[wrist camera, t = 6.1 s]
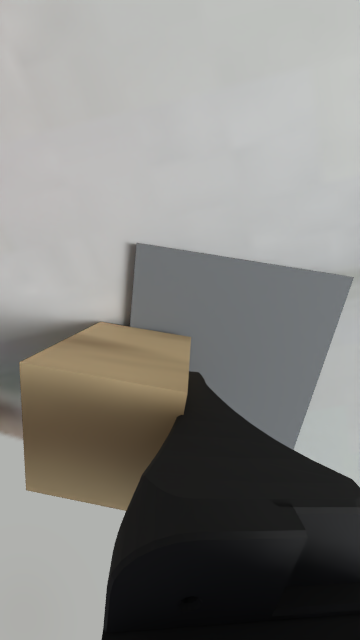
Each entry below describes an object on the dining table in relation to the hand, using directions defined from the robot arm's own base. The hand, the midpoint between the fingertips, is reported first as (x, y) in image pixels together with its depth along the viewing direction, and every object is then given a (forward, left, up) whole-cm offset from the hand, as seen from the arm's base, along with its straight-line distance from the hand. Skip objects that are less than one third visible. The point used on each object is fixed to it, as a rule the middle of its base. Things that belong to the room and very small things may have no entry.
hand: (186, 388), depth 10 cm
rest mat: (0, -3, -2) cm, 3 cm away
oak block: (0, +2, -1) cm, 3 cm away
